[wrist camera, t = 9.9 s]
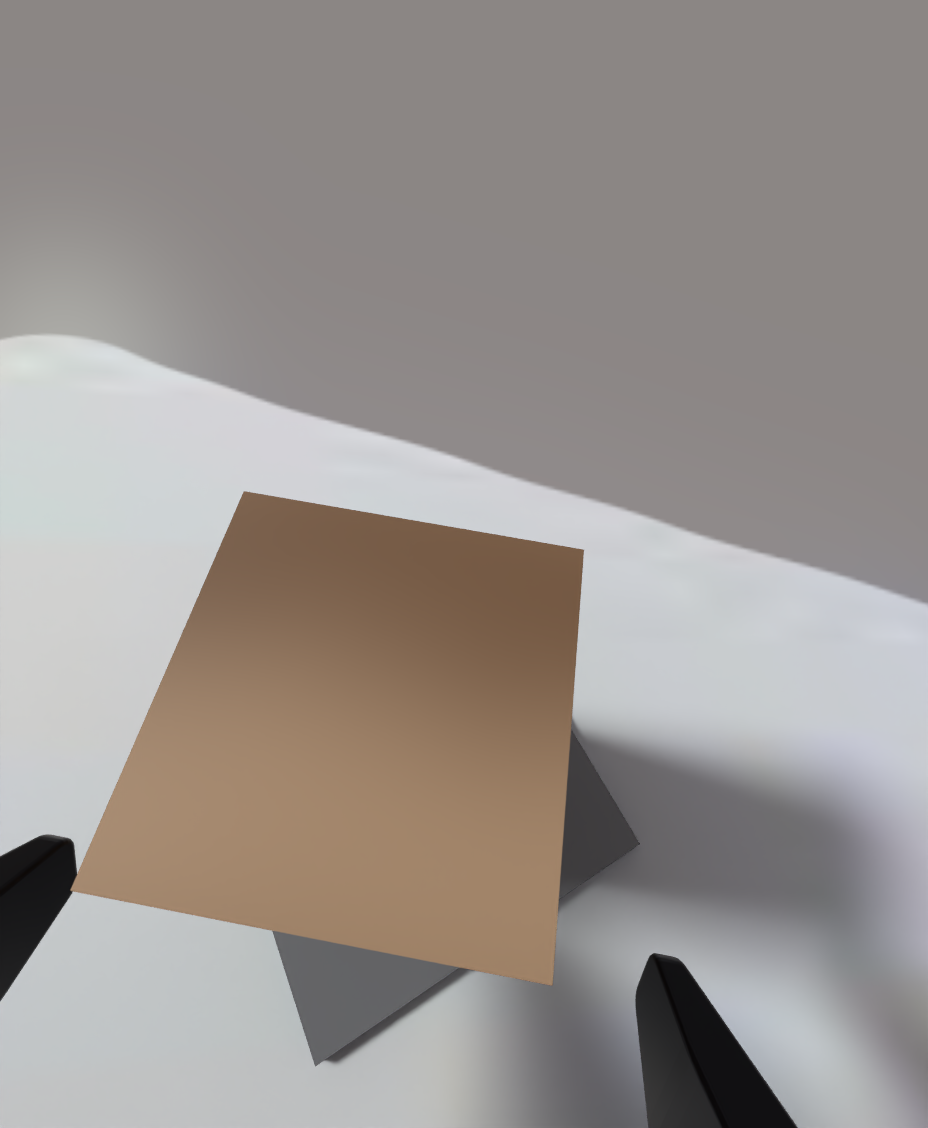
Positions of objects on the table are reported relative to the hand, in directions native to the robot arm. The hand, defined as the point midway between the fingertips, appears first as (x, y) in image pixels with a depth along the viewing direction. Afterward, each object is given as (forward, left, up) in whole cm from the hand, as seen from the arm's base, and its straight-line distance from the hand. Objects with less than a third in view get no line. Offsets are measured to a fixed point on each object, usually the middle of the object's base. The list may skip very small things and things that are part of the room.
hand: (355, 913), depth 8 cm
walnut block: (+2, +2, -7) cm, 8 cm away
